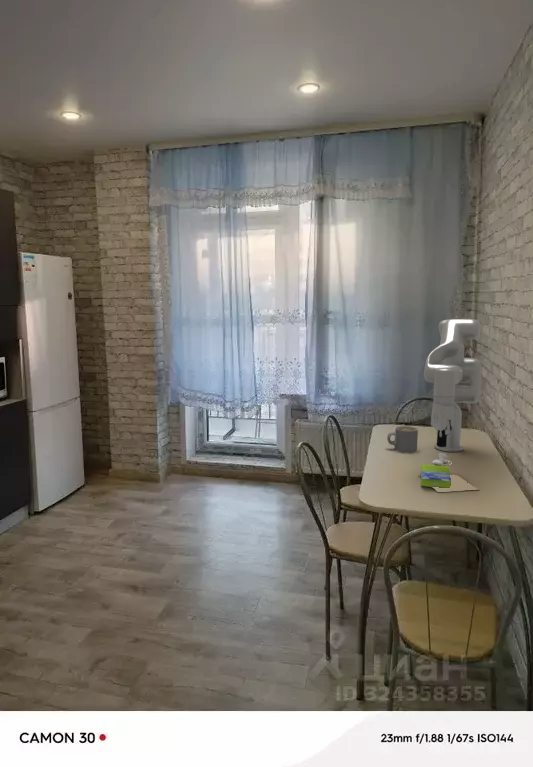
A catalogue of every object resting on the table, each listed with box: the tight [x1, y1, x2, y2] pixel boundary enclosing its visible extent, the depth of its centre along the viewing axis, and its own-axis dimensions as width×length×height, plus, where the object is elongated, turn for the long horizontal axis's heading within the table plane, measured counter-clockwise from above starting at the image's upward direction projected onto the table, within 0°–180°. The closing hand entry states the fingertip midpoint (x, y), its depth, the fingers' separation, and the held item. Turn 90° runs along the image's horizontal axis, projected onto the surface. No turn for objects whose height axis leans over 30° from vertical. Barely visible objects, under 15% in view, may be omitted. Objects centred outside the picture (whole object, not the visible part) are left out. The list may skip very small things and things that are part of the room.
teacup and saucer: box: [432, 452, 453, 466], centre depth 221 cm, size 9×8×4 cm
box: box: [420, 464, 451, 488], centre depth 198 cm, size 10×4×17 cm
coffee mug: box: [386, 425, 419, 454], centre depth 241 cm, size 13×10×10 cm
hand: (441, 446), depth 201 cm, fingers closed
